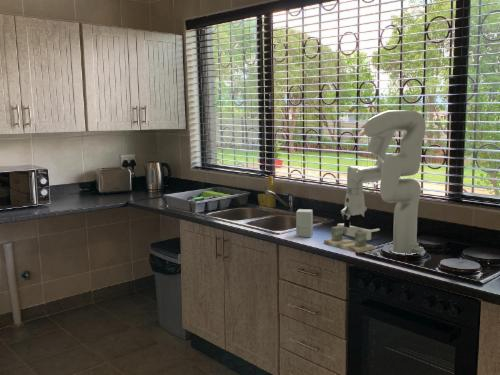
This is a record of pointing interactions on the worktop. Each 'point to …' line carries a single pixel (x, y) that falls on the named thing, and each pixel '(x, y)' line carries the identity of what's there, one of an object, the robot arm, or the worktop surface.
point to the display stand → (349, 241)
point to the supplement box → (304, 222)
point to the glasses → (353, 229)
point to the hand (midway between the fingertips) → (353, 225)
